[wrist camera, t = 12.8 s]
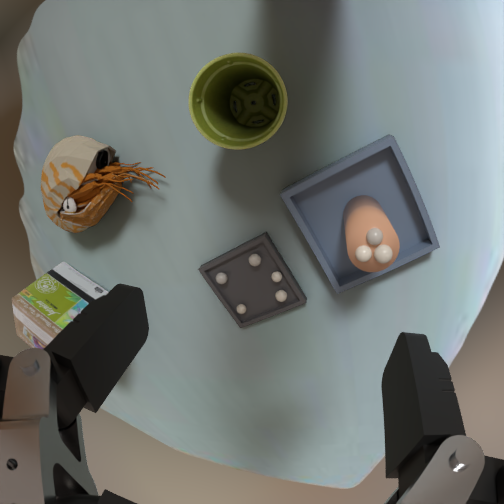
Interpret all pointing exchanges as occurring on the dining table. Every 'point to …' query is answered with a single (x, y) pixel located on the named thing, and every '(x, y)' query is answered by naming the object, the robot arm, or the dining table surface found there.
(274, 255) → the parts tray
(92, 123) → the dining table surface
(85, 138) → the nautilus
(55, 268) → the tea box
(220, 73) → the plant pot
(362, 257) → the tan rounded pillar
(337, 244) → the shallow square tray
